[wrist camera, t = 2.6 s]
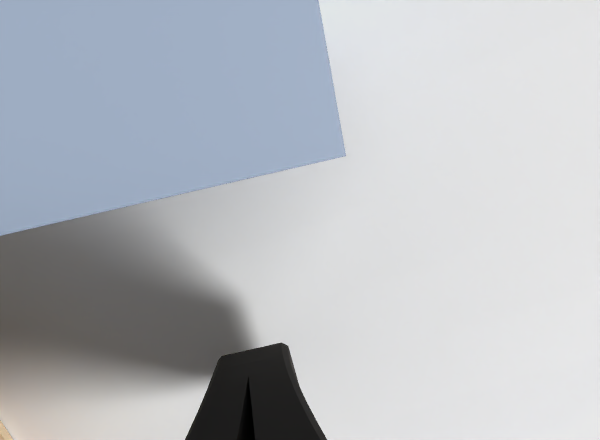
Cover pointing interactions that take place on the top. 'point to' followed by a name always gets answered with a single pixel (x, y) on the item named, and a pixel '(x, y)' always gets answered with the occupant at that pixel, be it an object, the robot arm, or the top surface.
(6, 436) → the letter card
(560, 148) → the top surface
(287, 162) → the powder blue cube
